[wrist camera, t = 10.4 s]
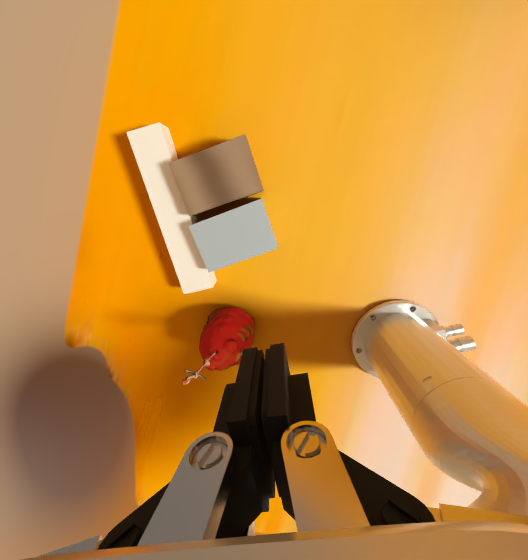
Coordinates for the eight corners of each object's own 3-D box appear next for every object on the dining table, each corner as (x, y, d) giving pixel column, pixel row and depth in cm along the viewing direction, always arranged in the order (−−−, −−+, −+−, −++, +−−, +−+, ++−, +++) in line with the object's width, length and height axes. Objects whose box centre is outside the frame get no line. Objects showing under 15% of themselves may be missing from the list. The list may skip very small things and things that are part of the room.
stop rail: (168, 128, 34) (159, 122, 31) (216, 280, 40) (212, 287, 37) (138, 137, 35) (126, 132, 32) (190, 287, 40) (183, 294, 37)
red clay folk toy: (233, 354, 43) (215, 434, 29) (196, 328, 42) (158, 397, 28) (265, 320, 41) (262, 386, 27) (227, 291, 40) (203, 345, 26)
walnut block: (248, 142, 35) (244, 134, 30) (263, 190, 36) (263, 190, 32) (181, 167, 36) (168, 163, 31) (199, 213, 37) (189, 216, 33)
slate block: (261, 198, 37) (260, 198, 32) (277, 241, 38) (277, 248, 33) (198, 222, 38) (188, 226, 33) (216, 263, 39) (208, 272, 34)
